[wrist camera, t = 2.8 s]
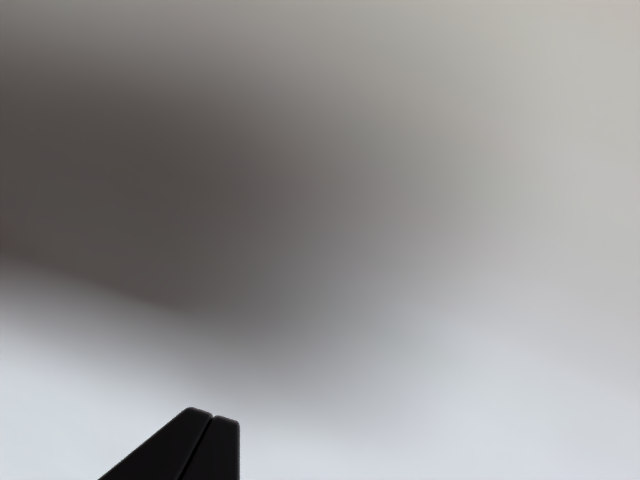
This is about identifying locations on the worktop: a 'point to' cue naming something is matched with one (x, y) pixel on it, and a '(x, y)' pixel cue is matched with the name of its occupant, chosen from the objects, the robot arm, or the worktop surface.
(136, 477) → the robot arm
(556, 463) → the worktop surface
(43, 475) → the worktop surface
